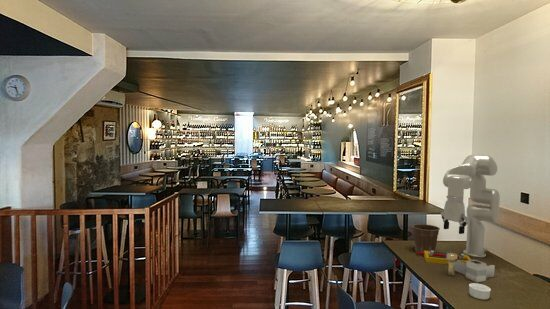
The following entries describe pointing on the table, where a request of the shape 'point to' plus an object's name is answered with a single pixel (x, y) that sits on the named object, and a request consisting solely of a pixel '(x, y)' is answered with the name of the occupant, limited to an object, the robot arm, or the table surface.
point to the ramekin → (479, 291)
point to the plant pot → (425, 237)
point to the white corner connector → (475, 270)
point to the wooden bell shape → (451, 262)
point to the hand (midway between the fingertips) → (453, 231)
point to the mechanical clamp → (431, 259)
